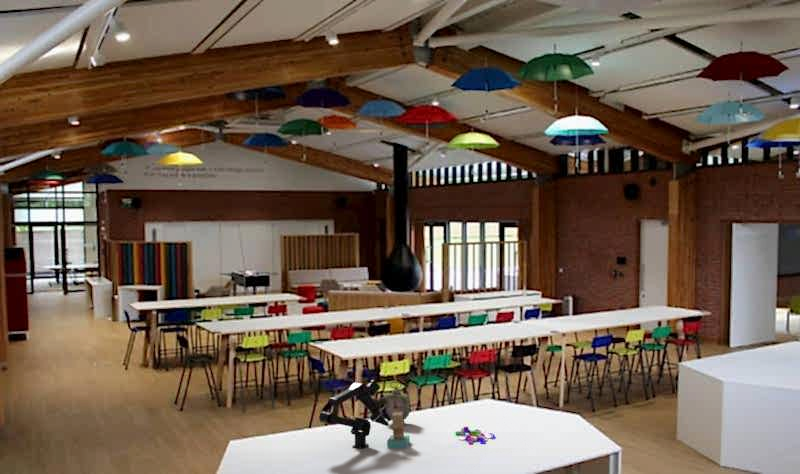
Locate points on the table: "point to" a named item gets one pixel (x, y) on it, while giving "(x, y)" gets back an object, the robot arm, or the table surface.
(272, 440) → the table surface
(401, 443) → the teal base block
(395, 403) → the tabletop clock
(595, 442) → the table surface
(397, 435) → the walnut pillar
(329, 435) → the table surface
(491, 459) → the table surface
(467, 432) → the building block set
